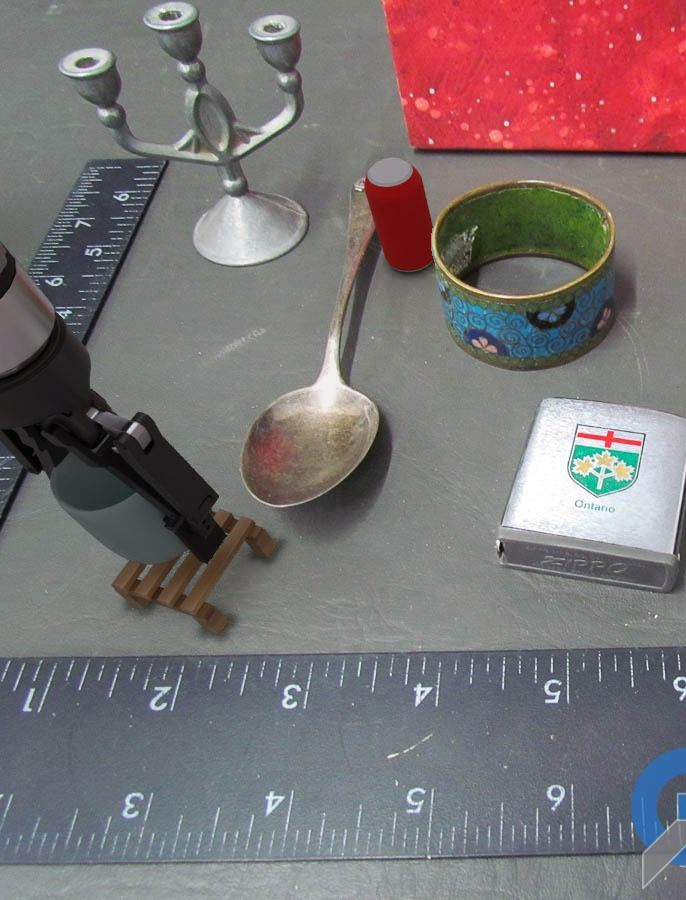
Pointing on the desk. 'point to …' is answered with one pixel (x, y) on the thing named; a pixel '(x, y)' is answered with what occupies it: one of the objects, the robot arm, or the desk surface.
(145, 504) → the cup
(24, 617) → the desk surface
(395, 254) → the beverage can
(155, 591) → the rack
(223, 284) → the desk surface
